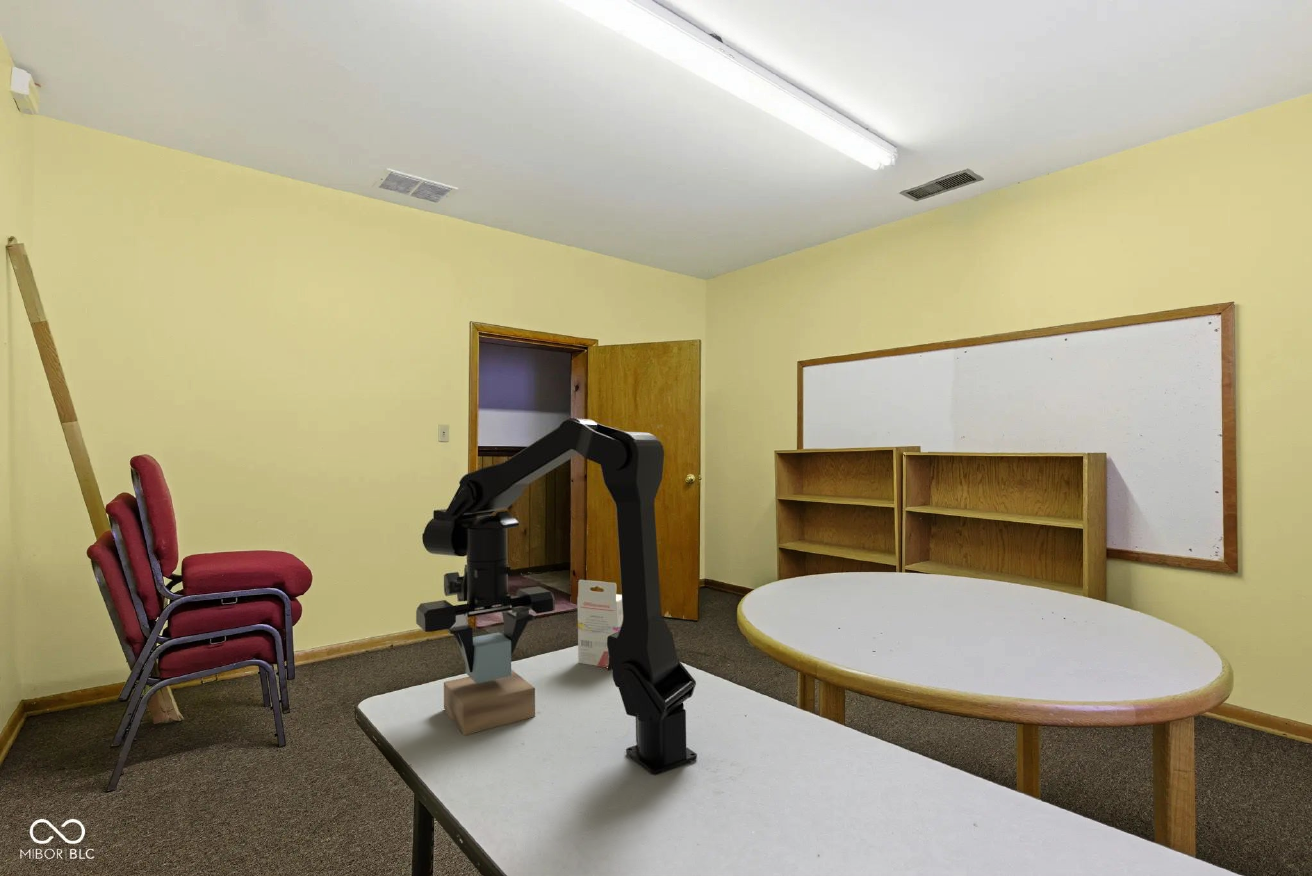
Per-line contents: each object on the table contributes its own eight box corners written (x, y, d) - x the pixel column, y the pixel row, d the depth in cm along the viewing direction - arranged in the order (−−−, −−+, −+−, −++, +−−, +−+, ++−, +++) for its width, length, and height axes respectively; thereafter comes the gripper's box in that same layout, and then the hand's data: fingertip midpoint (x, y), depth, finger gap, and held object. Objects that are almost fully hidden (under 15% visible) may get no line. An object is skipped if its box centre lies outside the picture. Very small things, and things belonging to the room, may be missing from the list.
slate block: (511, 675, 89) (510, 640, 89) (476, 683, 86) (476, 647, 86) (499, 666, 93) (498, 632, 93) (465, 673, 90) (465, 638, 91)
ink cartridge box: (633, 661, 111) (631, 578, 111) (618, 670, 106) (617, 583, 106) (592, 654, 115) (591, 574, 115) (576, 663, 110) (575, 579, 110)
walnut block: (535, 716, 88) (534, 687, 88) (464, 735, 83) (464, 704, 83) (509, 693, 97) (509, 667, 97) (443, 709, 91) (443, 682, 91)
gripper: (527, 545, 102) (528, 641, 102) (406, 558, 92) (407, 665, 91) (555, 554, 93) (557, 660, 92) (425, 569, 82) (426, 689, 82)
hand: (488, 667), depth 90 cm, fingers closed on slate block, 5 cm apart
